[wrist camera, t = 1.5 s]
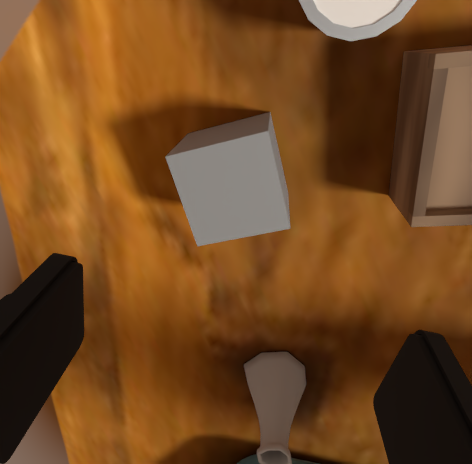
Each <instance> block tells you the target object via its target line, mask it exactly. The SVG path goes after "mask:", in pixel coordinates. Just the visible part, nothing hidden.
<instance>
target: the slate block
mask: <svg viewBox="0 0 472 464" xmlns="http://www.w3.org/2000/svg"><path fill="white" fill-rule="evenodd" d="M165 158H166V160H167V163H168V166H169V169H170V171H171V174H172V177H173V180H174V182H175V185H176V188H177V191H178V194H179V196H180V199H181V202H182V205H183V207H184V210H185V213H186V216H187V218H188V221H189V224H190V227H191V230H192V232H193V235H194V238H195V241H196V243H197V246H201V245H206V244H212V243H217V242H222V241H227V240H233V239H238V238H243V237H248V236H253V235H259V234H264V233H269V232H274V231H280V230H285V229H290V215H289V200H288V190H287V186H286V181H285V176H284V172H283V167H282V163H281V158H280V154H279V149H278V145H277V140H276V136H275V131H274V127H273V122H272V118H271V113H270V112H268V113H264V114H260V115H257V116H253V117H249V118H245V119H241V120H237V121H234V122H230V123H226V124H222V125H218V126H215V127H211V128H207V129H203V130H199V131H196V132H192V133H188V134H187V135H186V136H185V137H184V138H183V139H182V140H181V141H180V142H179V143H178V144H177V145H176V146H175V147H174V148H173V149H172V150H171V151H170V152H169V153H168V154H167V155H166V156H165Z"/></svg>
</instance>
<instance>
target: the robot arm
mask: <svg viewBox="0 0 472 464" xmlns="http://www.w3.org/2000/svg"><path fill="white" fill-rule="evenodd" d="M83 337H84V303H83V266H82V264H80V263H78V262H77V259H76V258H75V257H72V256H67V255H62V254H58V253H53V254H52V255H51V256H49V257H48V258H47V259H46V260H45V261H44V262H43V263H42V264H41V265H40V266H39V267H38V268H37V269H36V270H35V271H34V272H33V273H32V274H31V275H30V276H29V277H28V278H27V279H26V280H25V281H24V282H23V283H22V284H21V285H20V286H19V287H18V288H17V289H16V290H15V291H14V292H13V293H12V294H8V295H6V296H5V297H3V298H2V299H1V300H0V463H1V464H4V463H6V462H7V461H8V460H9V459H10V457H11V456H12V454H13V453H14V451H15V449H16V448H17V446H18V445H19V443H20V442H21V440H22V438H23V437H24V435H25V434H26V432H27V430H28V429H29V427H30V425H31V424H32V422H33V421H34V419H35V418H36V416H37V414H38V413H39V411H40V410H41V408H42V406H43V405H44V403H45V401H46V400H47V398H48V397H49V395H50V394H51V392H52V390H53V389H54V387H55V386H56V384H57V382H58V381H59V379H60V378H61V376H62V374H63V373H64V371H65V370H66V368H67V366H68V365H69V363H70V362H71V360H72V358H73V357H74V355H75V354H76V352H77V350H78V349H79V347H80V345H81V343H82V341H83ZM373 404H374V410H375V414H376V417H377V421H378V425H379V428H380V432H381V436H382V439H383V443H384V447H385V450H386V454H387V458H388V461H389V464H472V386H471V384H470V382H469V380H468V379H467V377H466V375H465V373H464V372H463V370H462V368H461V366H460V364H459V363H458V361H457V359H456V357H455V356H454V354H453V352H452V350H451V349H450V347H449V345H448V343H447V342H446V340H445V338H444V337H443V336H442V335H441V334H437V333H433V332H428V331H423V330H418V331H416V332H415V334H410V335H409V336H408V337H407V339H406V341H405V343H404V344H403V346H402V348H401V350H400V351H399V353H398V355H397V357H396V358H395V360H394V362H393V364H392V365H391V367H390V369H389V371H388V372H387V374H386V376H385V378H384V379H383V381H382V383H381V385H380V386H379V388H378V390H377V392H376V393H375V396H374V401H373Z"/></svg>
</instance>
